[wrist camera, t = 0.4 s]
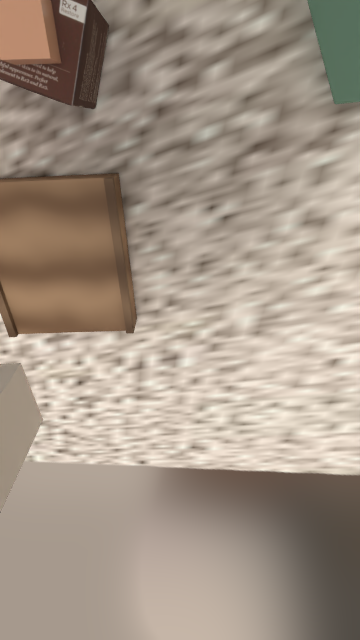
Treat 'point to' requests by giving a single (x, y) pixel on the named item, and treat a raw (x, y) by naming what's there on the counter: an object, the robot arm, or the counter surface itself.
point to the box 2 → (339, 45)
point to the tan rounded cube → (28, 32)
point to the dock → (64, 255)
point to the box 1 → (68, 57)
